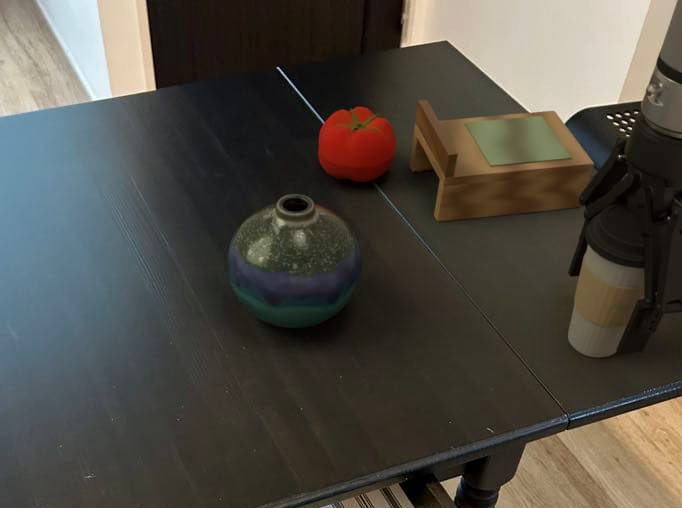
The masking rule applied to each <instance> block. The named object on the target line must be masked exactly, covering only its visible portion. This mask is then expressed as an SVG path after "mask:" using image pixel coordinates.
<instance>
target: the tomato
mask: <svg viewBox="0 0 682 508" xmlns="http://www.w3.org/2000/svg"><path fill="white" fill-rule="evenodd" d="M379 115H380V113H378V114H375V113H373V112H372V111H371V110H370V109H369V108H367V107H364V106H356V107H354V108H353V109H352V108H351V107H350V108H349V110H347V109H339V110H337V111H335V112H333V113H332V114H331V115H330V116H329V117H328V118H327V119H326V120H325V122H324V123H323V125H322V126H321V128H320V130H319V135H318V161H319V163H320V166H321V168H323V169H324V171H325V172H326V174H328V175H329V176H331V177H333V178H335V179H336V180H347V179H348V180H350V181H352V182H355V183H367V182H370V181H373V180H375V179H376V178H379V177H380V176H382V175H384V174H385V173H386V172H387V171H388V170H389V169H390V168H391V166H392V165H393V163H394V159H395V155H396V154H395V153H396V150H397V137H396V134H395V131H394V128H393V127H392V125H391V124H390V122H389V121H388V120H387V119H386V118H384V117H381V116H379ZM378 116H379V117H378Z"/></svg>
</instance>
